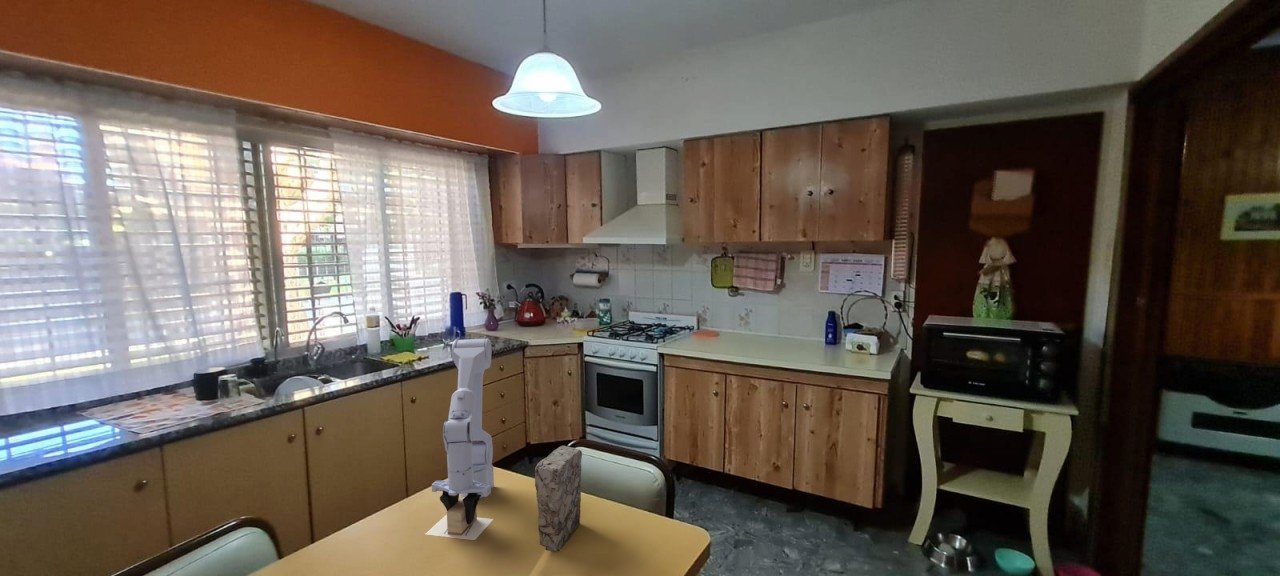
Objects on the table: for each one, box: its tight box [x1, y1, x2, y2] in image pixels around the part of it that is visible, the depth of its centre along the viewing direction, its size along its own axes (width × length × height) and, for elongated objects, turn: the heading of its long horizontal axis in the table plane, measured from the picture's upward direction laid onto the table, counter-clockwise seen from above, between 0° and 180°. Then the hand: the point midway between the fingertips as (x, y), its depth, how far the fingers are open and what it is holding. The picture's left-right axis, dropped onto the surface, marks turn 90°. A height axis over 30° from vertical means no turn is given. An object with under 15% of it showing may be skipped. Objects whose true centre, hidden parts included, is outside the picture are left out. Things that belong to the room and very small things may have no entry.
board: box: [424, 513, 494, 541], centre depth 117 cm, size 9×13×1 cm
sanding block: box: [446, 497, 478, 536], centre depth 117 cm, size 7×4×6 cm, turn 169°
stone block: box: [534, 445, 583, 553], centre depth 114 cm, size 13×7×20 cm, turn 167°
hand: (462, 521), depth 117 cm, fingers closed on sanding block, 4 cm apart
